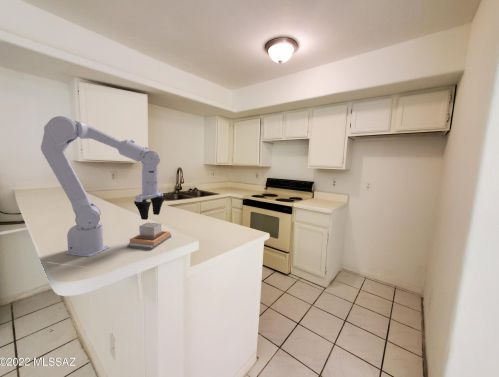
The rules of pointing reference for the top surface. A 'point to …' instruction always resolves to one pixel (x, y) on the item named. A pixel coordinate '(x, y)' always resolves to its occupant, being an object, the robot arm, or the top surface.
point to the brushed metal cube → (150, 231)
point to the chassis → (148, 241)
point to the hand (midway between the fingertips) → (150, 216)
